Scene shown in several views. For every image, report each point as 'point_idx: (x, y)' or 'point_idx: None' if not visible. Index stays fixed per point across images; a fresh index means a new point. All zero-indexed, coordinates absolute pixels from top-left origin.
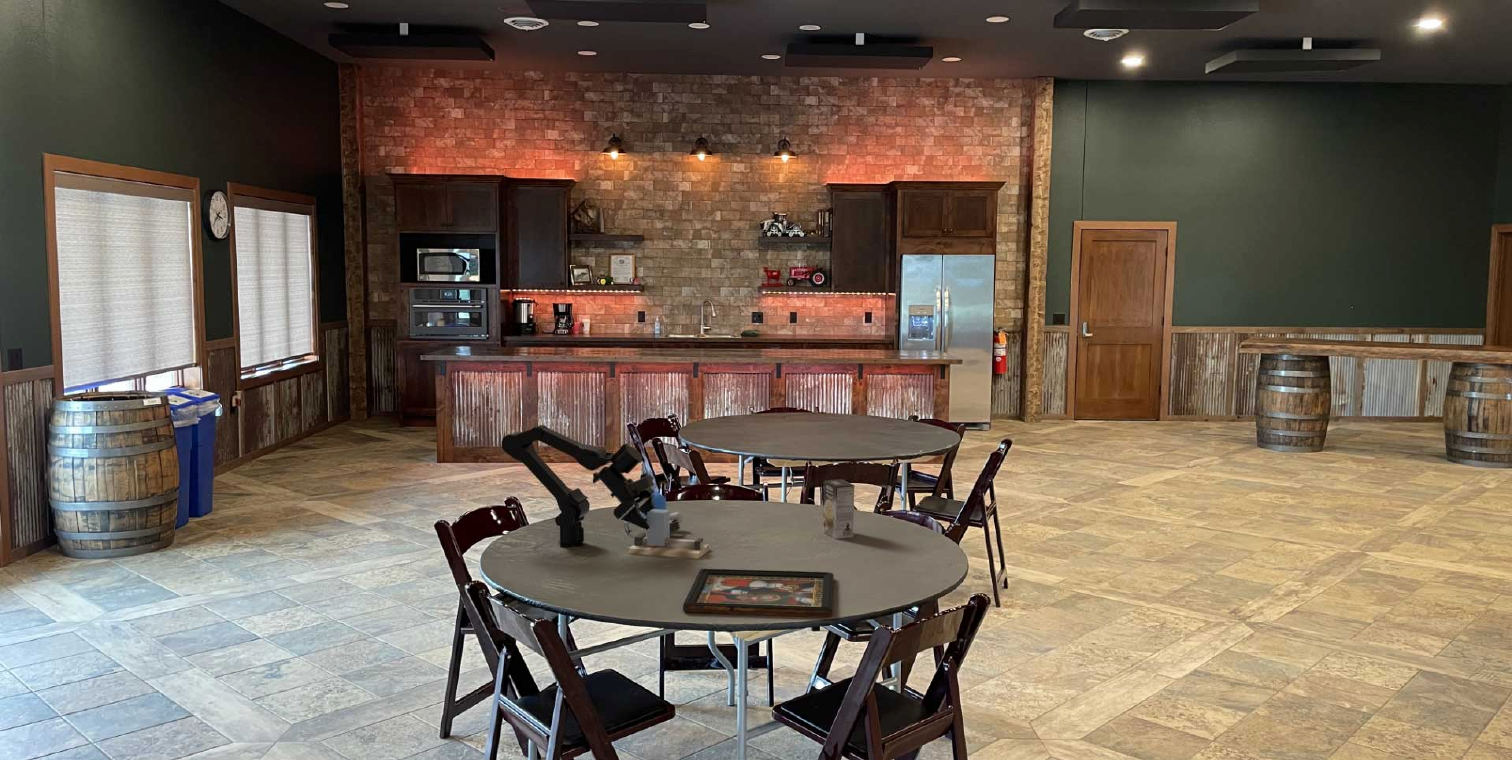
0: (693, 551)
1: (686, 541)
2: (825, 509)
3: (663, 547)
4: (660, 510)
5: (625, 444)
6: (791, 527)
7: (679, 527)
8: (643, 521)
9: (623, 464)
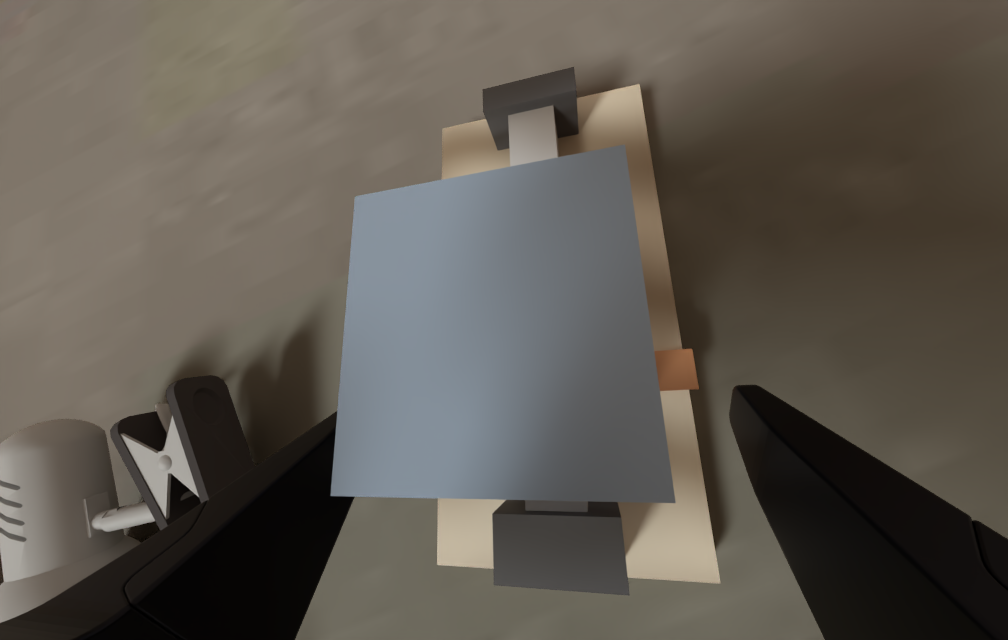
0: (609, 126)
1: None
2: None
3: None
4: (409, 311)
5: None
6: (121, 60)
7: (211, 376)
8: (882, 471)
9: None
